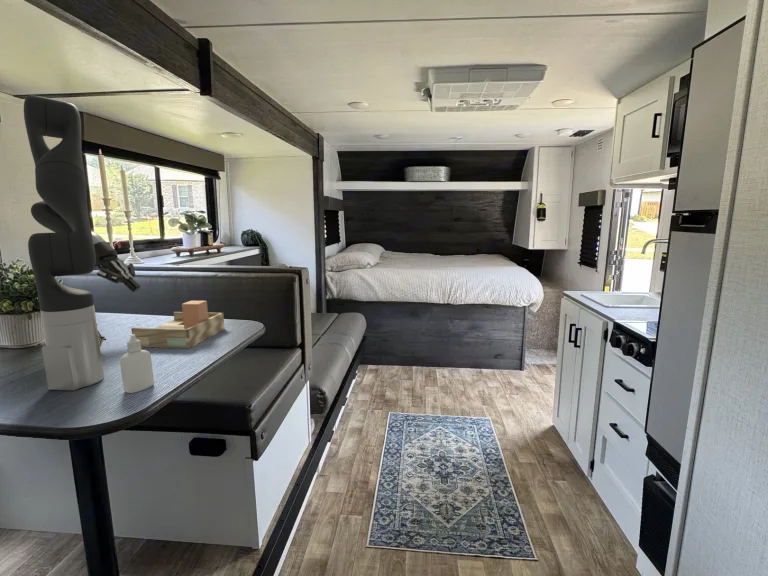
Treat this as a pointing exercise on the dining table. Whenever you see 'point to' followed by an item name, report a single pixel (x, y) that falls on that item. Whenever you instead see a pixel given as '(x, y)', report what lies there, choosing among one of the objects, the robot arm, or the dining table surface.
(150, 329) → the wooden tray
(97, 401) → the dining table surface
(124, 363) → the eye dropper bottle
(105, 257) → the robot arm
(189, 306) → the terracotta block
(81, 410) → the dining table surface
